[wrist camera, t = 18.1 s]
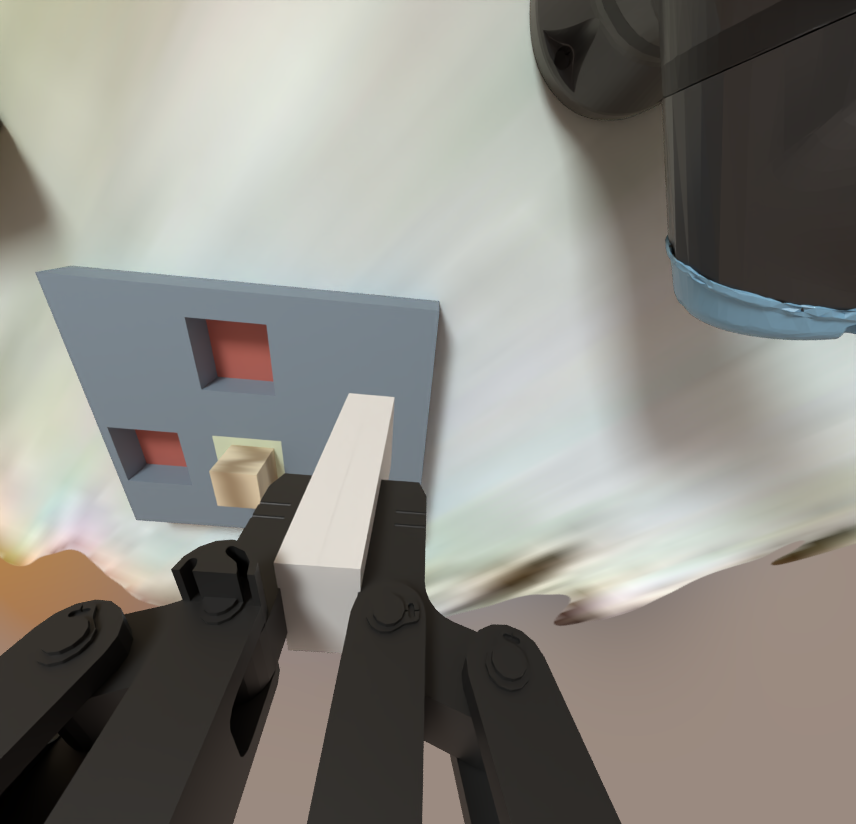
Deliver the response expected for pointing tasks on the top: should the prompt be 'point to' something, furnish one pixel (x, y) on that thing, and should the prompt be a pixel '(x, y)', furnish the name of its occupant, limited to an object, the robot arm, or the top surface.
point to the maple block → (243, 476)
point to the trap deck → (234, 376)
